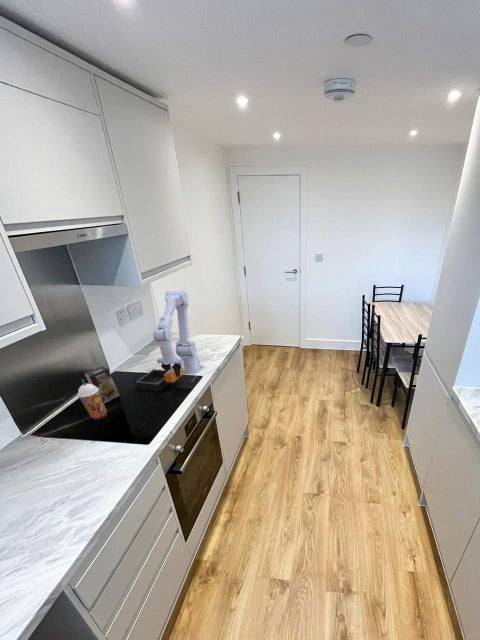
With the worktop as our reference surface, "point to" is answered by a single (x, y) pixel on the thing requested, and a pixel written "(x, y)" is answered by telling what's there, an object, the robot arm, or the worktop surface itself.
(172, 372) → the snack box
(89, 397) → the smoothie
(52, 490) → the worktop surface
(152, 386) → the dark grey tray
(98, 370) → the coffee box
